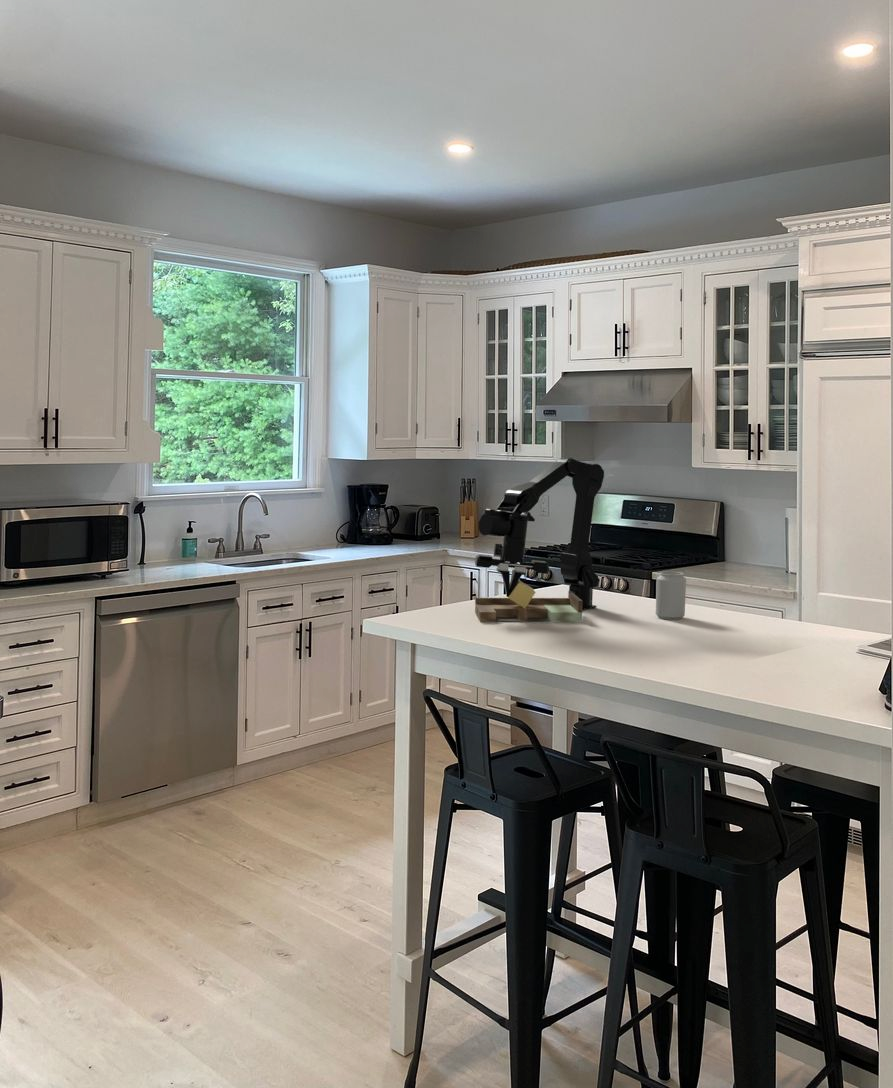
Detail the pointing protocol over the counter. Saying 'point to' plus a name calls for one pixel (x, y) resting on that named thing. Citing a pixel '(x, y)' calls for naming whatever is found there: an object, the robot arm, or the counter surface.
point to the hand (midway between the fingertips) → (508, 597)
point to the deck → (530, 610)
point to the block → (522, 594)
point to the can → (670, 595)
